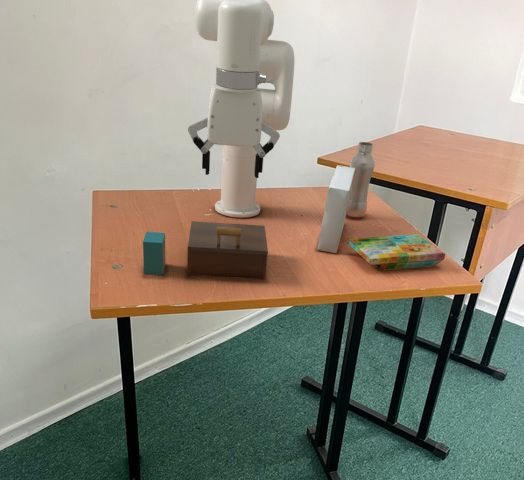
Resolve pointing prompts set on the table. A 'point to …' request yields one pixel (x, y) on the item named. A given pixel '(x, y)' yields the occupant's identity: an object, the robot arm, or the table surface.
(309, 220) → the table surface
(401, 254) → the puzzle game
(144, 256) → the block
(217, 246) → the lid
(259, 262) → the chest
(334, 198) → the skincare box
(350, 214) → the silver metal bottle
